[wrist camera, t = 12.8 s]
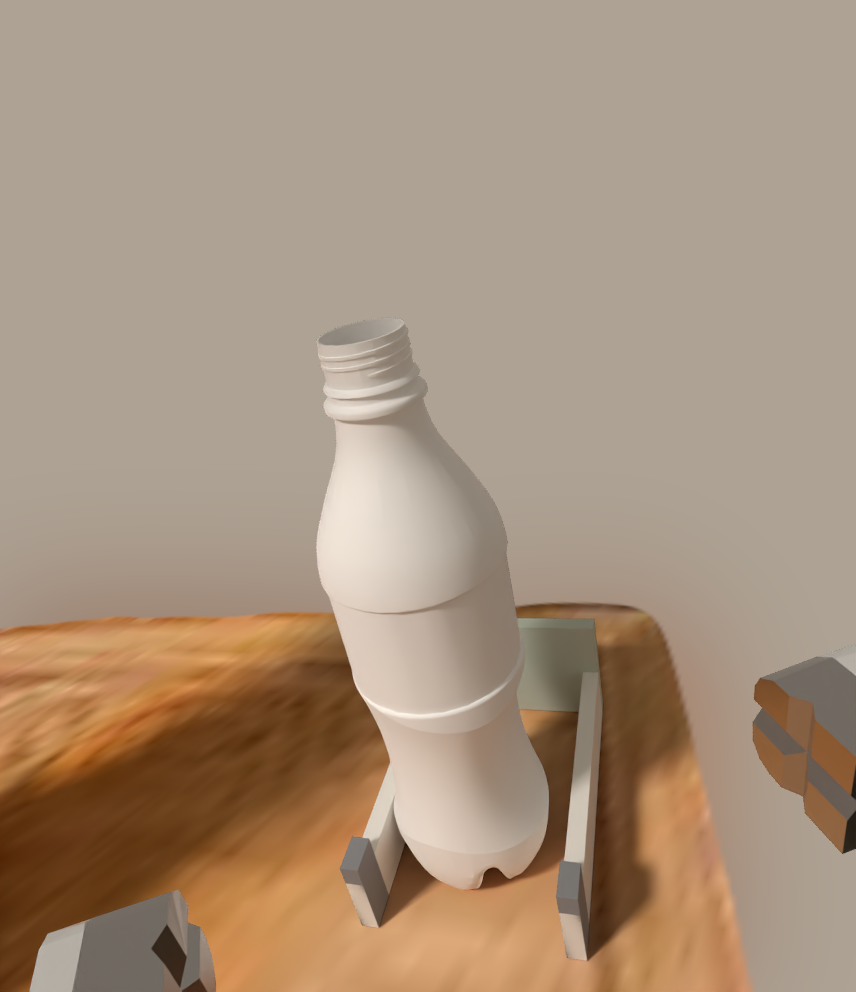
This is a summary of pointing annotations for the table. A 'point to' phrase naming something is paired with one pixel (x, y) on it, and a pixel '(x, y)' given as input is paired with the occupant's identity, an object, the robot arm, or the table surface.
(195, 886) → the table surface
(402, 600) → the water bottle
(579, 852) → the bay
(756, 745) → the robot arm
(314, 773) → the table surface
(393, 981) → the table surface
